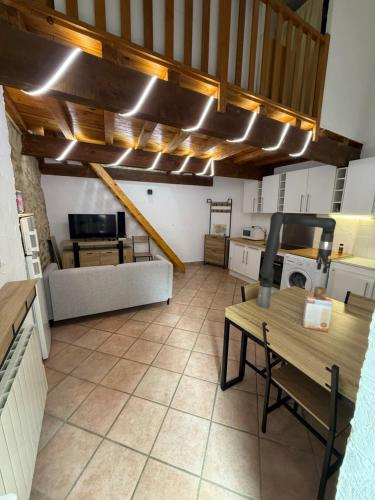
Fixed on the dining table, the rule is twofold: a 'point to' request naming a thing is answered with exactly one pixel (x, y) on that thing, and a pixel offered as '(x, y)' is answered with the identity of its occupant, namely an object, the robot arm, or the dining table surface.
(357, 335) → the dining table surface
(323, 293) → the walnut block
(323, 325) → the cracker box
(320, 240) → the robot arm
